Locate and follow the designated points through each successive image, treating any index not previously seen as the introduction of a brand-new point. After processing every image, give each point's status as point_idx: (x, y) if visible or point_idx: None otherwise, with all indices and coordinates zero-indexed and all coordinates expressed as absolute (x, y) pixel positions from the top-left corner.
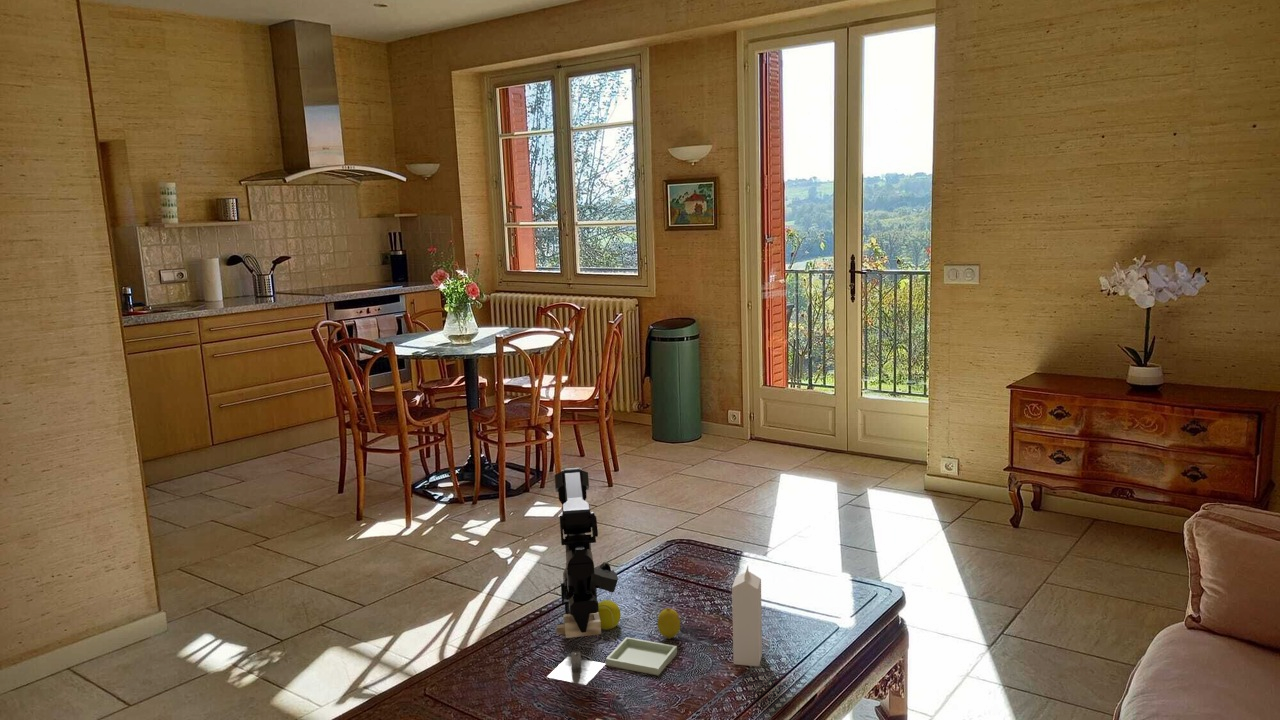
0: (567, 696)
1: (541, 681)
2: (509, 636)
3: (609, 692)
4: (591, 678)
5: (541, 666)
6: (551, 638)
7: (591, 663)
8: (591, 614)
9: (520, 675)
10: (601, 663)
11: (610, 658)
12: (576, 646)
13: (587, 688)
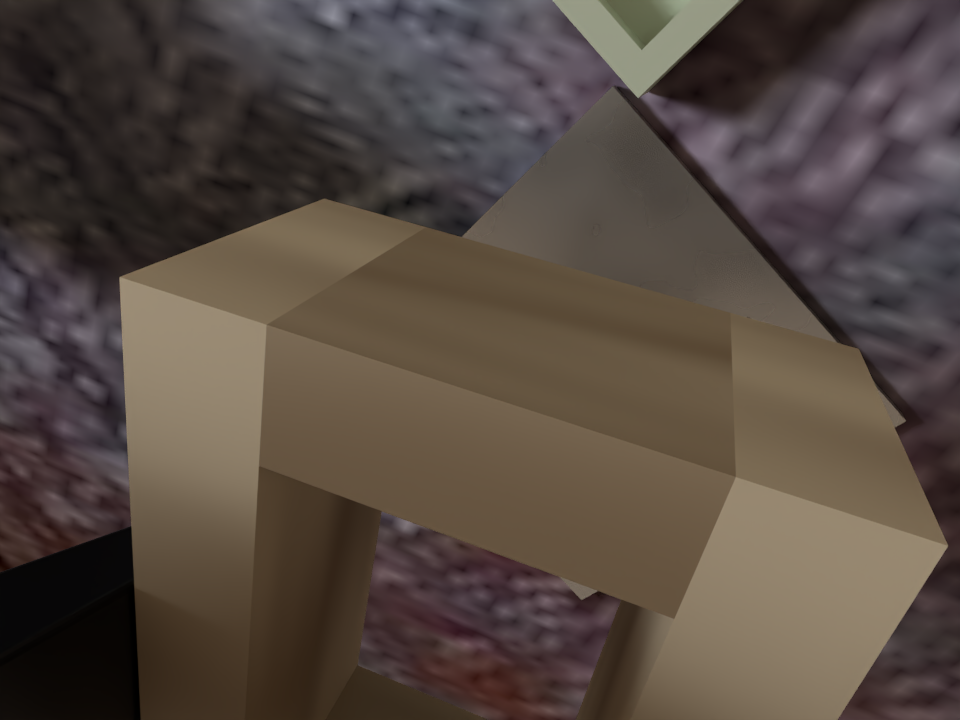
0: (951, 594)
1: (603, 630)
2: (7, 535)
3: None
4: (821, 329)
5: (402, 545)
6: (55, 339)
7: (540, 220)
8: (264, 495)
9: (463, 683)
10: (587, 127)
11: (660, 38)
12: (197, 217)
13: (942, 411)
